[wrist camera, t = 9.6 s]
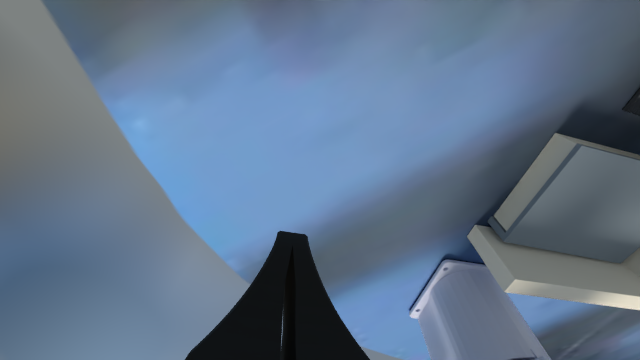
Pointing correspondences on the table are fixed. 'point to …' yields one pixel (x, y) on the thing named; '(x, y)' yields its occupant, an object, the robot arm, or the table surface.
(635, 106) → the bookend
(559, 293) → the cream corner tray
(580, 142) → the book
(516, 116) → the table surface
